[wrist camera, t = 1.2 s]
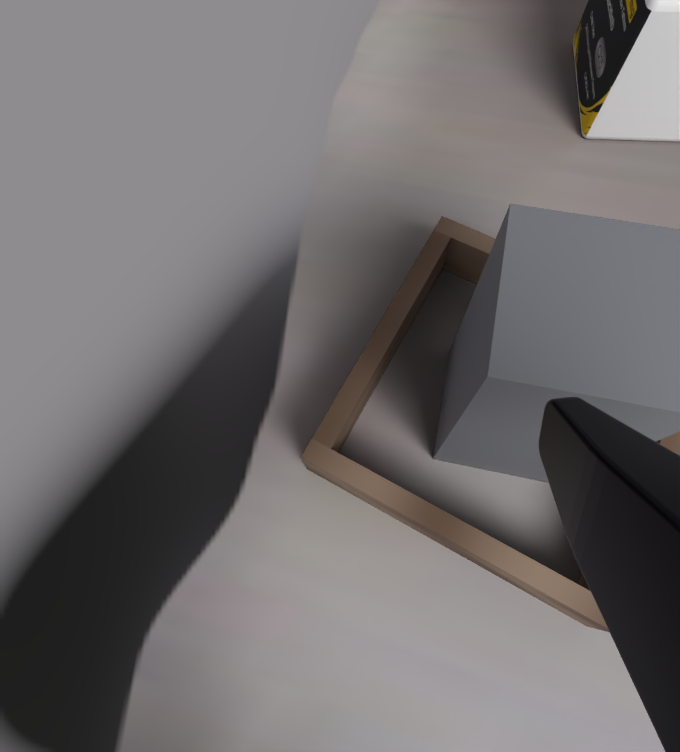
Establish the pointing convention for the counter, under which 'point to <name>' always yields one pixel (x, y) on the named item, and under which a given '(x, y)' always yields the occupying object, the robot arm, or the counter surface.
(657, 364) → the grey peg
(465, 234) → the walnut collar
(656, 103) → the medicine bottle
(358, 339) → the counter surface
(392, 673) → the counter surface
